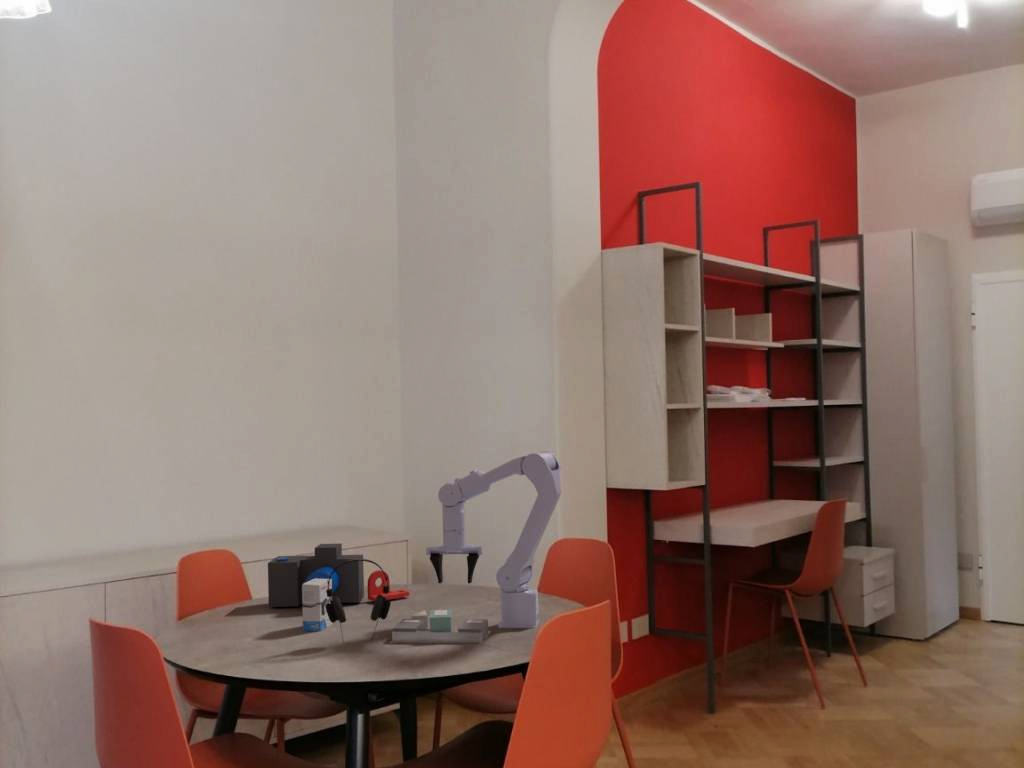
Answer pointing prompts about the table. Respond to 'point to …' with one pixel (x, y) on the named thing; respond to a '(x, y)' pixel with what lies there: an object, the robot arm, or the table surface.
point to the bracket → (375, 591)
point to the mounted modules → (466, 626)
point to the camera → (315, 575)
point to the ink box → (315, 604)
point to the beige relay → (419, 616)
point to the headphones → (379, 606)
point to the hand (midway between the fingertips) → (455, 582)
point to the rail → (436, 637)
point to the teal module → (441, 620)
